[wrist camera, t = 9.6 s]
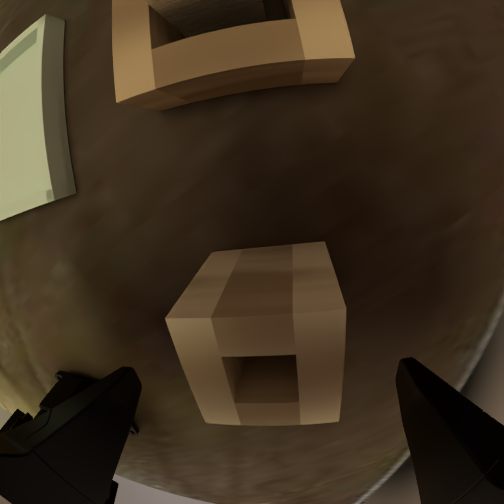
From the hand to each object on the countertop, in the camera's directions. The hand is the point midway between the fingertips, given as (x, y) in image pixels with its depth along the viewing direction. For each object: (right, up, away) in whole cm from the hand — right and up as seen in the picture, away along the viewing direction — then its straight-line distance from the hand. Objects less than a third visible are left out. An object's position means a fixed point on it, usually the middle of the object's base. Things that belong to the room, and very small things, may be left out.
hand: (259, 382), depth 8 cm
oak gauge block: (-1, +14, +1) cm, 14 cm away
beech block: (+1, +2, +5) cm, 6 cm away
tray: (-16, +12, +4) cm, 20 cm away
